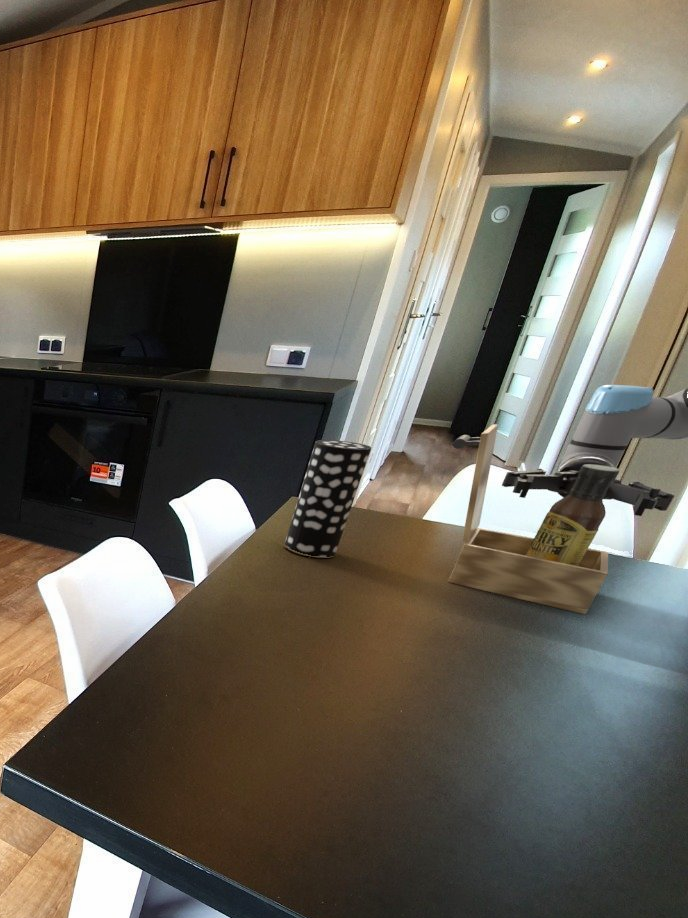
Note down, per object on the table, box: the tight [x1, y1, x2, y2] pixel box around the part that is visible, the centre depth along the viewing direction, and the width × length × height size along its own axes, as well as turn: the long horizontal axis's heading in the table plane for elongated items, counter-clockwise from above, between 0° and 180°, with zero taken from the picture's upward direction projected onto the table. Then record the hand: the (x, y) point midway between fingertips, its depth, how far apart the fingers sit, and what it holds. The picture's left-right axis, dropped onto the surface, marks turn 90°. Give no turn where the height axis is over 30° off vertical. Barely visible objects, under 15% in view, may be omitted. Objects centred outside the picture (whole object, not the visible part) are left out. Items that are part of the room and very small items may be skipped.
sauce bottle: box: [525, 464, 620, 566], centre depth 100 cm, size 6×6×20 cm
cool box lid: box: [452, 423, 499, 543], centre depth 107 cm, size 17×14×4 cm
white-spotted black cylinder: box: [284, 439, 372, 557], centre depth 116 cm, size 8×8×20 cm
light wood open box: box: [447, 527, 609, 615], centre depth 105 cm, size 17×14×7 cm
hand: (581, 498), depth 103 cm, fingers open, 13 cm apart
